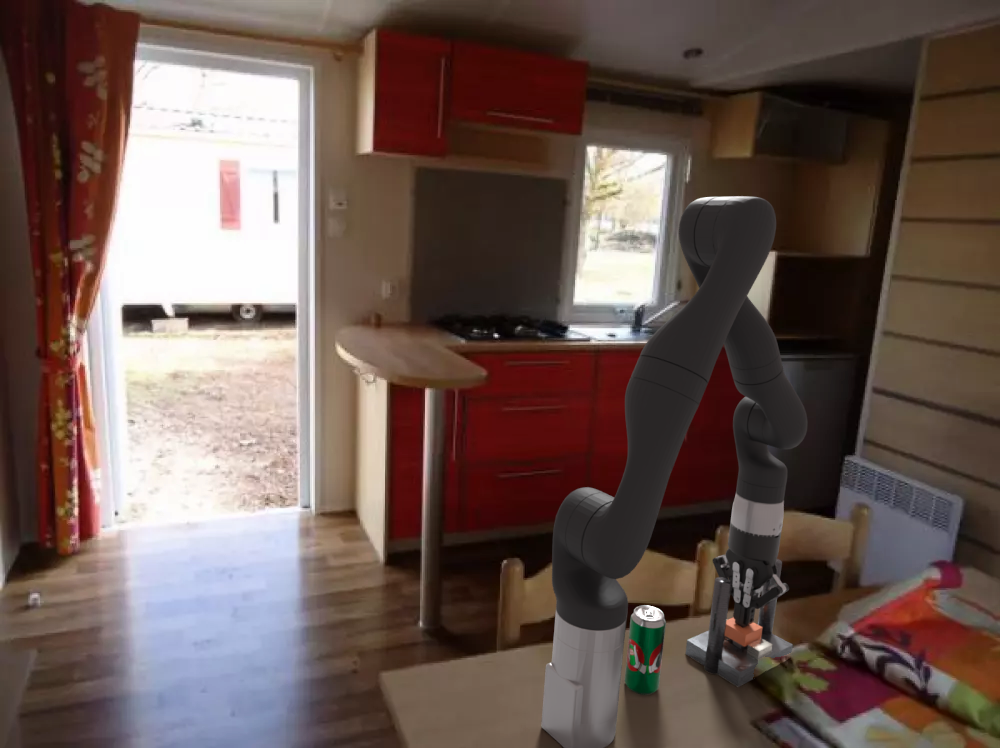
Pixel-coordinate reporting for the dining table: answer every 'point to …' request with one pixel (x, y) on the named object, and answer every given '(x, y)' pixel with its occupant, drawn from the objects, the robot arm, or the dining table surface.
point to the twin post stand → (720, 649)
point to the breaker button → (742, 633)
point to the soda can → (645, 650)
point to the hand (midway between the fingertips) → (742, 624)
